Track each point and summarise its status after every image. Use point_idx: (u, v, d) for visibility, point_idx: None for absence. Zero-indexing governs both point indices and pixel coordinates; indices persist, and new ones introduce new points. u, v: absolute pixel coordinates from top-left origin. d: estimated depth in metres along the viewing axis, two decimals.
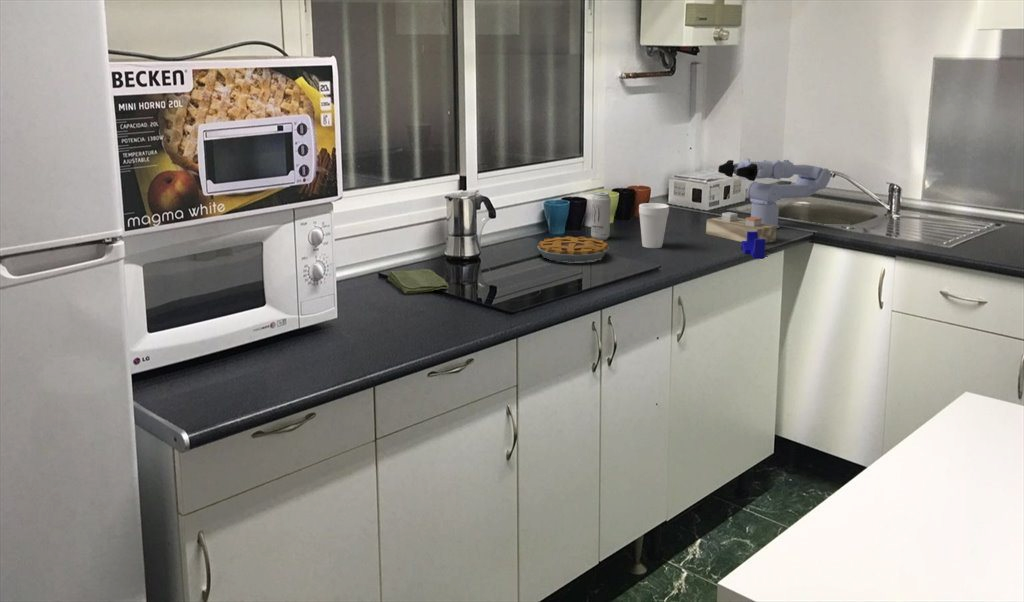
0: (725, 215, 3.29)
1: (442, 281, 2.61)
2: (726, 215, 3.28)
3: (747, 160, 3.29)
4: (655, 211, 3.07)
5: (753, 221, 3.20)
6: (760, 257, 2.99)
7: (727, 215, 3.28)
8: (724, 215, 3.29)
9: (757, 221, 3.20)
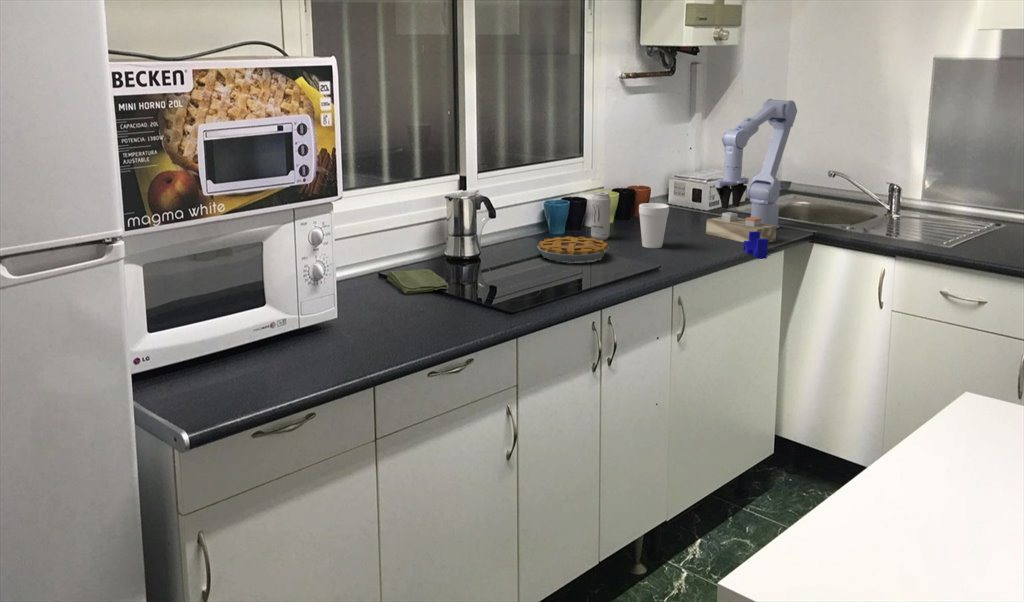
0: (725, 215, 3.29)
1: (442, 281, 2.61)
2: (726, 215, 3.28)
3: (741, 182, 3.24)
4: (655, 211, 3.07)
5: (753, 221, 3.20)
6: (763, 257, 2.99)
7: (727, 215, 3.28)
8: (724, 215, 3.29)
9: (757, 221, 3.20)
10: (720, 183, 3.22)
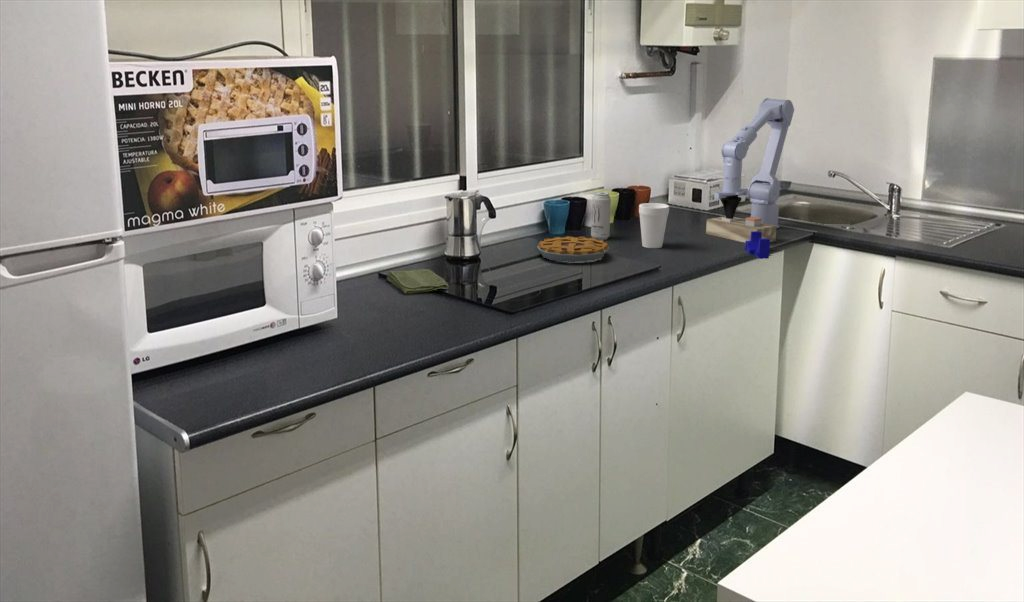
0: (725, 220, 3.29)
1: (442, 281, 2.61)
2: (726, 220, 3.29)
3: None
4: (655, 211, 3.06)
5: (753, 221, 3.20)
6: (765, 257, 2.99)
7: (727, 220, 3.28)
8: (724, 220, 3.29)
9: (757, 221, 3.20)
10: (719, 194, 3.23)
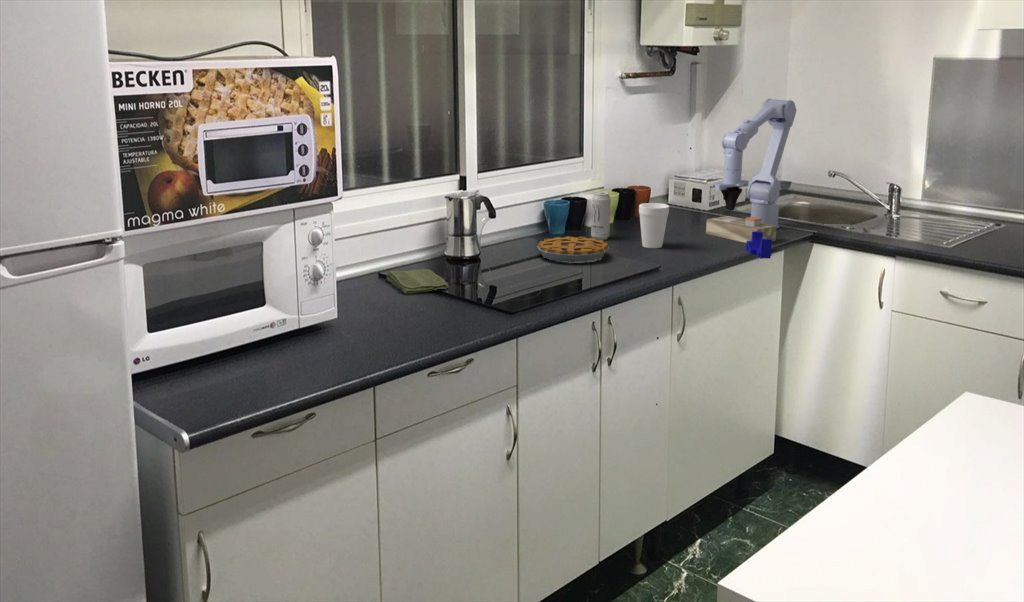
0: None
1: (442, 281, 2.62)
2: None
3: (740, 185, 3.24)
4: (655, 211, 3.06)
5: (753, 221, 3.20)
6: (766, 257, 2.99)
7: None
8: None
9: (757, 221, 3.20)
10: (720, 186, 3.22)
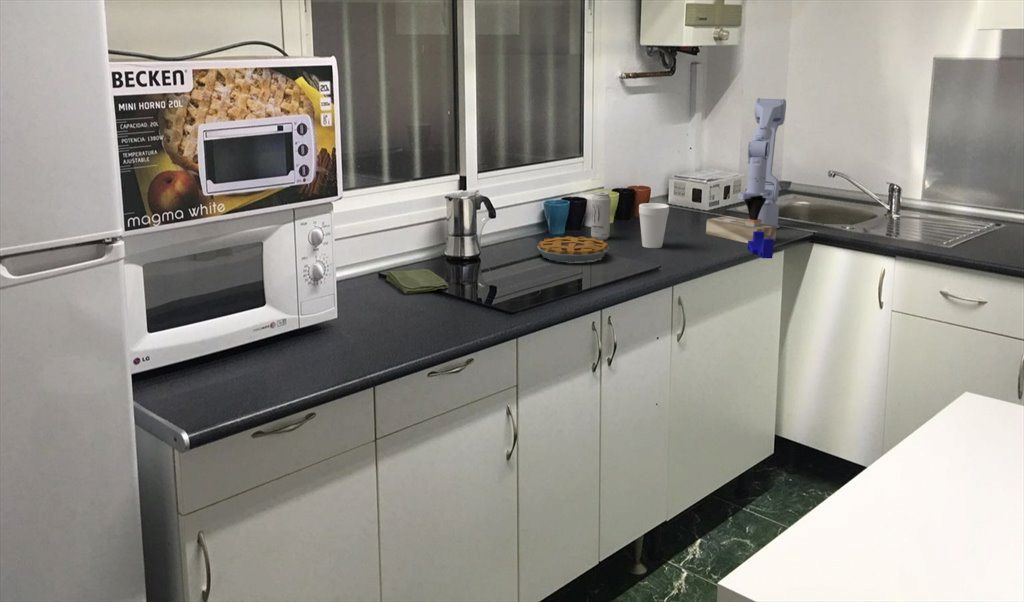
0: None
1: (442, 281, 2.62)
2: None
3: (764, 194, 3.17)
4: (655, 211, 3.07)
5: (753, 222, 3.20)
6: (768, 257, 2.99)
7: None
8: None
9: (757, 222, 3.21)
10: (744, 195, 3.15)
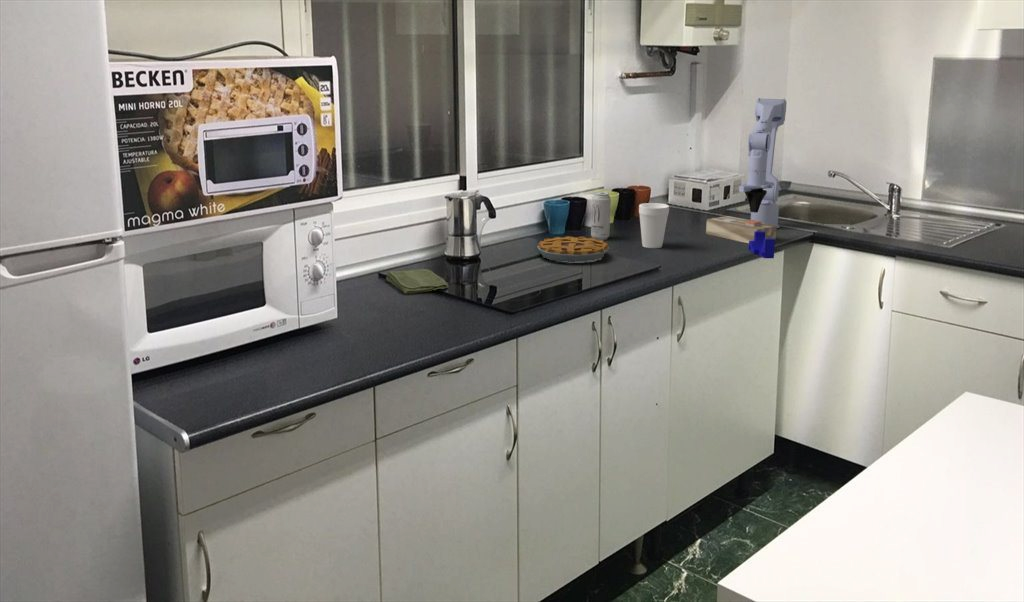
0: None
1: (442, 281, 2.62)
2: None
3: None
4: (655, 211, 3.07)
5: (753, 224, 3.20)
6: (770, 257, 2.99)
7: None
8: None
9: (757, 224, 3.21)
10: (744, 187, 3.14)
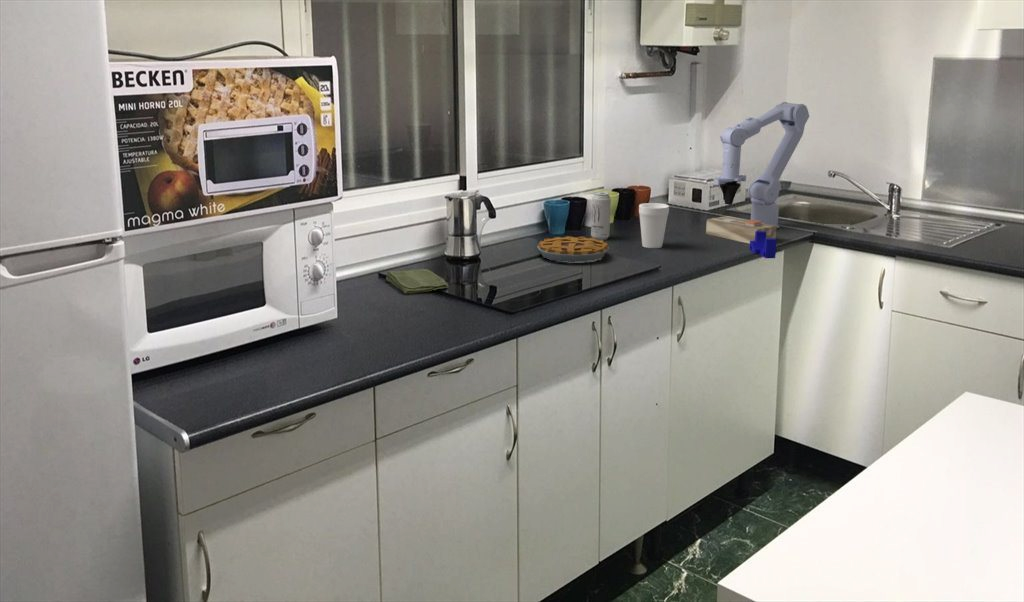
0: None
1: (442, 281, 2.62)
2: None
3: None
4: (655, 211, 3.07)
5: (753, 224, 3.20)
6: (771, 257, 2.99)
7: None
8: None
9: (757, 224, 3.21)
10: (719, 180, 3.27)
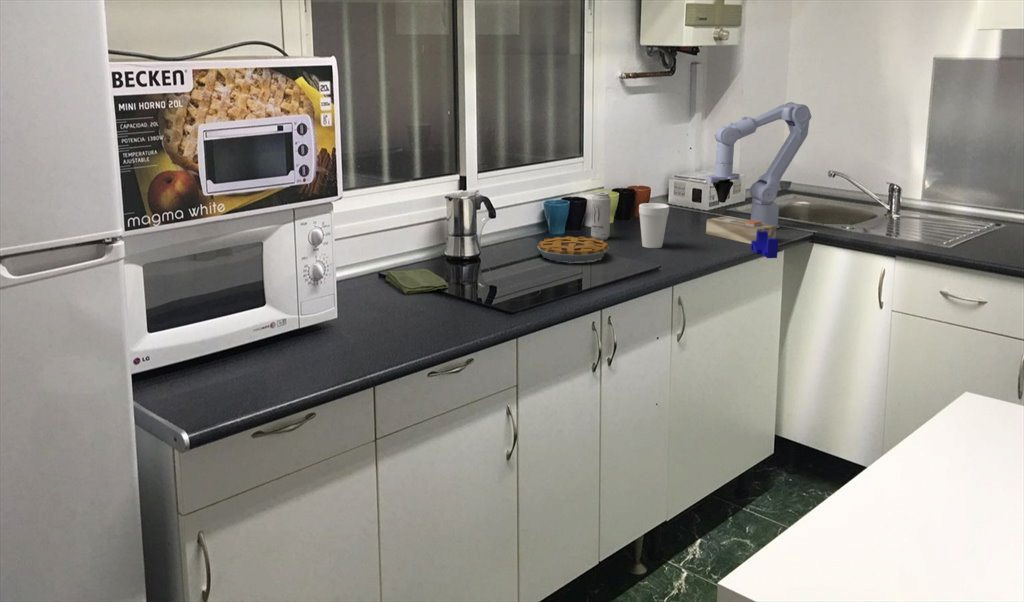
0: None
1: (441, 281, 2.62)
2: None
3: (732, 178, 3.33)
4: (655, 211, 3.07)
5: (753, 224, 3.20)
6: (773, 257, 2.99)
7: None
8: None
9: (757, 224, 3.21)
10: (712, 179, 3.31)
